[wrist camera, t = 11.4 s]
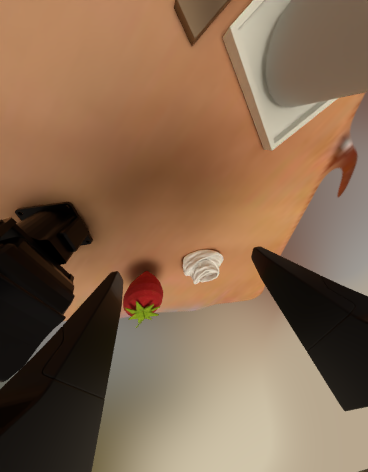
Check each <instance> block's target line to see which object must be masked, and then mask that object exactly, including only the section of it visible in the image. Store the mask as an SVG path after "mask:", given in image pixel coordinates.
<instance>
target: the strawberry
mask: <svg viewBox="0 0 368 472" xmlns="http://www.w3.org/2000/svg"><path fill="white" fill-rule="evenodd" d="M162 298H163V290H162V287H161V284H160V282H159V280H158V279H157V278H156V277H155V276H154V275H153V274H151V273H150V272H149V271H145V272H144V273H143V274H141V275H140V276H138V277H137V278H136V279H135V280H134V281H133V282H132V283H131V284H130V286H129V287H128V289H127V291H126V293H125V295H124V299H123V307H124V310H125V311H126V313H127V314H128V315H130V316H132V317H130V318H129V320H130V319H138V323H141V322H142V321H143V320H144V319H145V318H146V319H150V320H151V318H150V316H158V315H159V314H156V313H154V312H155V311H156V310H157V309H158V308H160V305H161V303H162ZM138 325H139V324H138ZM137 327H138V326H137ZM137 327H136V328H137Z"/></svg>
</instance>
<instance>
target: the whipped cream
mask: <svg viewBox="0 0 368 472" xmlns="http://www.w3.org/2000/svg"><path fill="white" fill-rule="evenodd" d="M222 261H223V256H222V255H221V254H220V253H218V252H216V251H213V250H198V251H195V252H192V253H190V254H188V255H186V256H185V257H184V260H183V270H184V275H186V276H191V278H192V279H193V282H194V284H197V283H199V282H207V281H211V280H213V279H215V278H217V277H218V275H219V266H220V265H221V263H222Z"/></svg>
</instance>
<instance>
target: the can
mask: <svg viewBox="0 0 368 472" xmlns="http://www.w3.org/2000/svg"><path fill="white" fill-rule="evenodd" d="M266 80H267V85H268V90H269V92H270V94H271V96H272V98H273V100H274V101H275V102H277V103H278V104H279V105H281V106H283V107H291V108H292V107H297V106H302V105H307V104H312V103H316V102H321V101H326V100H331V99H336V98H341V97H345V96H350V95H355V94H360V93H365V92H368V0H291V1H290V3H289V4H288V6H287V7H286V8H285V10H284V11H283V13H282V14H281V16H280V19H279V21H278V23H277V25H276V27H275V30H274V32H273V34H272V37H271V41H270V45H269V49H268V53H267V60H266Z"/></svg>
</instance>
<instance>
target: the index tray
mask: <svg viewBox="0 0 368 472" xmlns="http://www.w3.org/2000/svg"><path fill="white" fill-rule="evenodd" d="M290 1H291V0H253V1H252V2H251V3H250V5H249V6H248V7H247V8H246V9H245V10H244V11H243V12H242V14H241V15H240V16H239V17H238V18H237V19H236V20H235V21H234V23H233V24H232V25H231V26H230V27H229V29H228V30H227V32H226V33H225V35H224V36H223V40H224V43H225V46H226V49H227V51H228V54H229V57H230V59H231V62H232V65H233V67H234V70H235V73H236V76H237V78H238V81H239V84H240V86H241V89H242V92H243V94H244V97H245V100H246V102H247V105H248V108H249V111H250V113H251V116H252V119H253V121H254V124H255V127H256V129H257V132H258V135H259V137H260V140H261V143H262V146H263V148H264V150H271V151H272V150H273V149H275V148H276V147H277V146H278V145H280V144H281V143H282V142H284V141H285V140H286V139H287V138H289V137H290V136H291V135H292V134H294V133H295V132H296V131H297V130H299V129H300V128H301V127H302V126H304V125H305V124H306V123H307V122H309V121H310V120H311V119H312V118H314V117H315V116H316V115H318V114H319V113H320V112H321V111H323V110H324V109H325V108H326V107H328V106H329V105H330V104H331V103H333V102H334V101H335V100H336V99H338V98H336V99H331V100H326V101H321V102H316V103H312V104H307V105H302V106H297V107H292V108H291V107H283V106H281V105H279V104H278V103H277V102H275V101H274V100H273V98H272V96H271V94H270V92H269V90H268V85H267V80H266V60H267V53H268V49H269V45H270V41H271V37H272V34H273V32H274V30H275V27H276V25H277V23H278V21H279V19H280V16H281V14H282V13H283V11H284V10H285V8H286V7H287V6H288V4H289V3H290Z"/></svg>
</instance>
